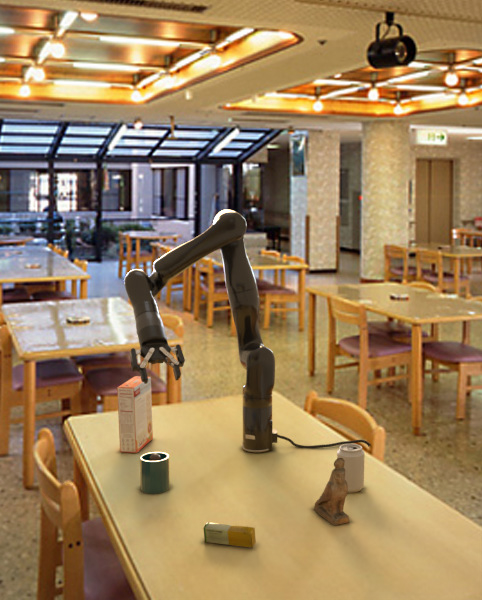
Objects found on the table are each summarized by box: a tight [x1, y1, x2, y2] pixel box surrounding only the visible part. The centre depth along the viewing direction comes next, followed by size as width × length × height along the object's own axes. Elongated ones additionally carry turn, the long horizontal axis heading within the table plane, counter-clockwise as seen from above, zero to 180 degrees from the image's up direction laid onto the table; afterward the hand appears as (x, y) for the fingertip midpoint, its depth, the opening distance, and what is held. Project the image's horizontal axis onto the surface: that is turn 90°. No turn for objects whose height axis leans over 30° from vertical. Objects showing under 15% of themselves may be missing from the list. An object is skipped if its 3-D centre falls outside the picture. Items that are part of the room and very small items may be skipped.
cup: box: [139, 451, 171, 495], centre depth 214 cm, size 8×8×9 cm
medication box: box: [203, 522, 257, 549], centre depth 183 cm, size 12×3×4 cm, turn 75°
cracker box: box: [116, 375, 154, 454], centre depth 248 cm, size 14×6×21 cm, turn 172°
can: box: [336, 443, 365, 494], centre depth 216 cm, size 8×8×12 cm
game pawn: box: [149, 453, 161, 461], centre depth 214 cm, size 4×4×9 cm
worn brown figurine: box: [313, 458, 350, 526], centre depth 197 cm, size 12×6×18 cm, turn 24°
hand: (162, 380), depth 214 cm, fingers open, 8 cm apart
